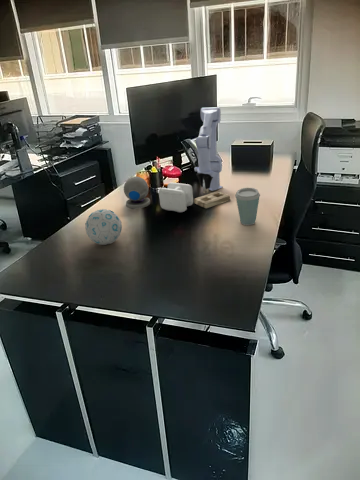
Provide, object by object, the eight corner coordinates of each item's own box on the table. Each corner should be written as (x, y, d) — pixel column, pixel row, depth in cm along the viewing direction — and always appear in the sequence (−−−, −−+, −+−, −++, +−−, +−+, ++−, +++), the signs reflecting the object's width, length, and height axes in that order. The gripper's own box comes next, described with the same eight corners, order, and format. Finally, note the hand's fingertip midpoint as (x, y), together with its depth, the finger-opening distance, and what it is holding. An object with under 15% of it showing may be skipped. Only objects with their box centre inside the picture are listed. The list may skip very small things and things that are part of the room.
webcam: (152, 199, 199) (148, 172, 192) (148, 208, 187) (144, 180, 181) (129, 200, 200) (125, 173, 193) (123, 209, 189) (119, 181, 182)
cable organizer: (195, 206, 185) (193, 184, 179) (184, 214, 177) (183, 191, 172) (170, 202, 192) (168, 181, 187) (159, 209, 184) (157, 188, 179)
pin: (201, 192, 184) (201, 176, 181) (206, 190, 186) (206, 175, 182) (205, 193, 182) (204, 178, 179) (210, 192, 183) (209, 177, 180)
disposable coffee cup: (259, 227, 157) (260, 195, 150) (234, 227, 160) (234, 195, 153) (259, 217, 167) (260, 186, 160) (235, 217, 169) (235, 187, 162)
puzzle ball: (90, 253, 148) (82, 220, 141) (88, 238, 161) (81, 207, 154) (126, 246, 151) (121, 213, 144) (121, 232, 164) (116, 201, 157)
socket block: (194, 203, 189) (194, 198, 187) (217, 195, 196) (217, 190, 195) (206, 208, 181) (206, 203, 180) (230, 200, 189) (230, 195, 188)
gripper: (189, 160, 180) (190, 186, 186) (207, 165, 169) (208, 193, 175) (200, 157, 183) (201, 182, 190) (218, 162, 172) (219, 189, 179)
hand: (205, 187), depth 183 cm, fingers closed on pin, 3 cm apart
